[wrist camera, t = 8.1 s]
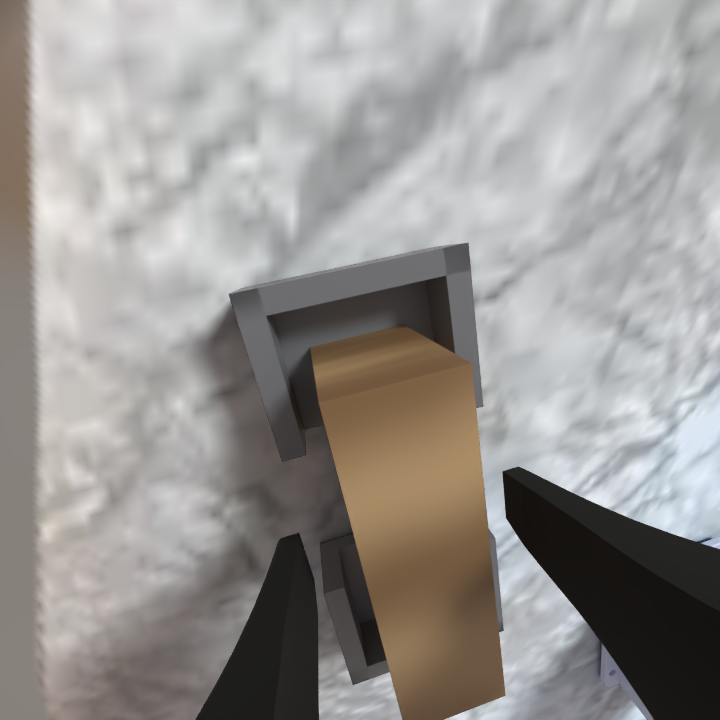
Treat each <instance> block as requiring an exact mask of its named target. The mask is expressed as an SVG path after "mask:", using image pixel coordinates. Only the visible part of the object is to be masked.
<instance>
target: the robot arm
mask: <svg viewBox="0 0 720 720" xmlns="http://www.w3.org/2000/svg"><path fill="white" fill-rule="evenodd" d="M503 483H504V496H505V510H506V518H507V520H508V522H509V523H510V525H511V526H512V528H513V529H514V531H515V533H516V534H517V536H518V537H519V539H520V540H521V542H522V543H523V545H524V546H525V547H526V549H527V550H528V551H529V552H530V554H531V555H532V556H533V557H534V558H535V560H536V561H537V562H538V563H539V565H540V566H541V567H542V568H543V569H544V571H545V572H546V573H547V574H548V575H549V577H550V578H551V579H552V580H553V581H554V583H555V584H556V585H557V586H558V588H559V589H560V590H561V591H562V592H563V594H564V595H565V596H566V597H567V598H568V600H569V601H570V602H571V603H572V604H573V606H574V607H575V608H576V609H577V610H578V612H579V613H580V614H581V616H582V617H583V618H584V619H585V621H586V622H587V623H588V625H589V626H590V627H591V629H592V630H593V631H594V633H595V634H596V636H597V637H598V638H599V640H600V641H601V643H602V652H601V675H600V680H601V682H602V683H603V684H604V686H605V687H607V688H611V687H614V686H616V685H619V684H620V685H621V686H622V688H623V689H624V690H625V692H626V693H627V694H628V696H629V697H630V698H631V699H632V701H633V702H634V703H635V705H636V706H637V707H638V709H639V710H640V711H641V713H642V714H643V715H644V716H645V718H646V719H647V720H720V537H717V538H714V539H711V540H708V541H705V542H702V543H698V542H695V541H692V540H689V539H686V538H682V537H679V536H676V535H673V534H671V533H668V532H665V531H662V530H660V529H657V528H654V527H651V526H649V525H646V524H643V523H640V522H638V521H635V520H633V519H630V518H628V517H625V516H623V515H621V514H618V513H616V512H614V511H611V510H609V509H606V508H604V507H602V506H600V505H597V504H595V503H593V502H591V501H589V500H586V499H584V498H582V497H580V496H578V495H576V494H574V493H572V492H569V491H567V490H565V489H563V488H561V487H559V486H557V485H555V484H553V483H551V482H549V481H547V480H545V479H543V478H541V477H539V476H537V475H535V474H533V473H531V472H529V471H527V470H525V469H523V468H521V467H516V468H512V469H509V470H506V471H503ZM196 720H319V707H318V612H317V601H316V592H315V583H314V577H313V574H312V571H311V568H310V565H309V562H308V559H307V556H306V553H305V550H304V546H303V543H302V540H301V537H300V534H299V533H297V534H294V535H291V536H287V537H284V538H281V539H280V540H279V542H278V544H277V547H276V550H275V553H274V556H273V559H272V562H271V565H270V567H269V570H268V573H267V575H266V578H265V581H264V583H263V586H262V588H261V591H260V593H259V595H258V598H257V600H256V603H255V605H254V608H253V610H252V612H251V614H250V617H249V619H248V621H247V623H246V625H245V627H244V630H243V632H242V634H241V636H240V638H239V640H238V642H237V645H236V647H235V649H234V651H233V653H232V655H231V657H230V659H229V660H228V662H227V664H226V666H225V668H224V670H223V672H222V674H221V676H220V677H219V679H218V681H217V683H216V685H215V687H214V688H213V690H212V692H211V694H210V695H209V697H208V699H207V701H206V702H205V704H204V706H203V708H202V709H201V711H200V713H199V714H198V716H197V718H196Z"/></svg>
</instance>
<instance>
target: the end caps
mask: <svg viewBox="0 0 720 720" xmlns="http://www.w3.org/2000/svg"><path fill="white" fill-rule="evenodd" d="M229 297H230V300H231V303H232V306H233V309H234V312H235V316H236V319H237V322H238V325H239V328H240V331H241V334H242V338H243V341H244V344H245V347H246V350H247V353H248V356H249V360H250V363H251V366H252V369H253V372H254V375H255V378H256V382H257V385H258V388H259V391H260V394H261V397H262V401H263V404H264V407H265V410H266V413H267V416H268V419H269V423H270V426H271V429H272V432H273V435H274V438H275V441H276V445H277V448H278V451H279V454H280V457H281V460H282V462H283V461H287V460H291V459H294V458H298V457H301V456H305V455H306V441H305V429H308V428H312V427H316V426H319V425H323V424H324V421H323V417H322V413H321V410H320V406H319V401H318V395H317V389H316V382H315V376H314V369H313V363H312V357H311V350H310V347H313V346H317V345H321V344H325V343H330V342H334V341H338V340H342V339H346V338H350V337H354V336H359V335H363V334H367V333H371V332H375V331H379V330H383V329H387V328H392V327H396V326H400V325H405V326H407V327H409V328H411V329H412V330H414V331H416V332H418V333H419V334H421V335H423V336H425V337H426V338H428V339H430V340H432V341H433V342H435V343H437V344H439V345H440V346H442V347H444V348H446V349H447V350H449V351H451V352H453V353H454V354H456V355H458V356H460V357H462V358H463V359H465V360H467V361H469V362H470V363H471V364H472V374H473V384H474V393H475V403H476V408H479V407H483V399H482V388H481V377H480V366H479V355H478V344H477V333H476V322H475V311H474V300H473V289H472V278H471V267H470V256H469V245H468V243H463V244H455V245H446V246H438V247H433V248H428V249H423V250H419V251H414V252H409V253H405V254H400V255H395V256H390V257H386V258H381V259H376V260H372V261H367V262H362V263H358V264H353V265H348V266H344V267H339V268H334V269H330V270H325V271H320V272H315V273H311V274H306V275H301V276H297V277H292V278H287V279H283V280H278V281H273V282H269V283H264V284H259V285H254V286H250V287H245V288H241V289H239V290H237V291H235V292H232V293H230V294H229ZM488 530H489V529H488ZM489 540H490V550H491V560H492V569H493V579H494V589H495V599H496V609H497V618H498V628H499V632H501V631H504V629H503V618H502V608H501V597H500V586H499V575H498V564H497V553H496V542H495V537H494V536H493V534H492V533H491V532H490V530H489ZM320 551H321V564H322V576H323V588H324V596H325V599H326V602H327V605H328V608H329V611H330V614H331V618H332V621H333V624H334V627H335V630H336V633H337V636H338V640H339V643H340V646H341V649H342V652H343V655H344V658H345V662H346V665H347V668H348V671H349V674H350V677H351V680H352V684H353V685H355V684H357V683H360V682H363V681H366V680H369V679H371V678H374V677H377V676H380V675H382V674H385V673H388V672H390V670H389V667H388V663H387V659H386V655H385V652H384V648H383V644H382V640H381V636H380V633H379V629H378V625H377V621H376V618H375V614H374V610H373V606H372V602H371V599H370V595H369V591H368V587H367V584H366V580H365V576H364V572H363V568H362V565H361V561H360V557H359V553H358V550H357V546H356V542H355V538H354V534H350V535H347V536H343V537H340V538H337V539H334V540H330V541H327V542H324V543H321V544H320Z"/></svg>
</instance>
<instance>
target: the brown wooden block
mask: <svg viewBox="0 0 720 720" xmlns="http://www.w3.org/2000/svg"><path fill="white" fill-rule="evenodd" d="M310 350H311V357H312V363H313V369H314V376H315V382H316V389H317V395H318V401H319V406H320V410H321V413H322V417H323V421H324V425H325V429H326V432H327V436H328V440H329V444H330V447H331V451H332V455H333V459H334V463H335V466H336V470H337V474H338V478H339V481H340V485H341V489H342V493H343V497H344V500H345V504H346V508H347V512H348V515H349V519H350V523H351V527H352V531H353V534H354V538H355V542H356V546H357V550H358V553H359V557H360V561H361V565H362V568H363V572H364V576H365V580H366V584H367V587H368V591H369V595H370V599H371V602H372V606H373V610H374V614H375V618H376V621H377V625H378V629H379V633H380V636H381V640H382V644H383V648H384V652H385V655H386V659H387V663H388V667H389V670H390V674H391V678H392V682H393V686H394V689H395V693H396V697H397V701H398V704H399V708H400V712H401V716H402V720H444V719H446V718H449V717H452V716H454V715H457V714H459V713H462V712H464V711H467V710H470V709H472V708H475V707H477V706H480V705H482V704H485V703H488V702H490V701H493V700H495V699H498V698H500V697H503V696H505V687H504V677H503V667H502V657H501V648H500V638H499V628H498V618H497V609H496V599H495V589H494V579H493V569H492V560H491V550H490V540H489V530H488V520H487V511H486V501H485V491H484V481H483V472H482V462H481V452H480V442H479V432H478V423H477V413H476V403H475V393H474V384H473V374H472V364H471V363H470V362H469V361H467V360H465V359H463V358H462V357H460V356H458V355H456V354H454V353H453V352H451V351H449V350H447V349H446V348H444V347H442V346H440V345H439V344H437V343H435V342H433V341H432V340H430V339H428V338H426V337H425V336H423V335H421V334H419V333H418V332H416V331H414V330H412V329H411V328H409V327H407V326H405V325H400V326H396V327H392V328H387V329H383V330H379V331H375V332H371V333H367V334H363V335H359V336H354V337H350V338H346V339H342V340H338V341H334V342H330V343H325V344H321V345H317V346H313V347H310Z"/></svg>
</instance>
